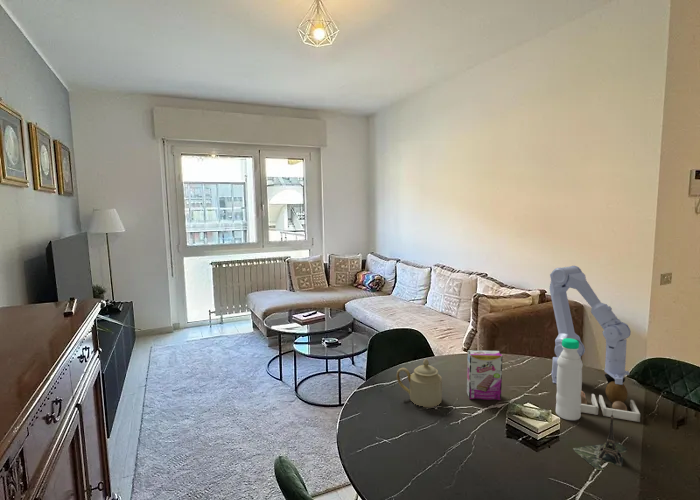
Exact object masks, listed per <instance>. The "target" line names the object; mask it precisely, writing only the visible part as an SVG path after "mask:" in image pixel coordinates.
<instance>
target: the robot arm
mask: <svg viewBox="0 0 700 500" xmlns="http://www.w3.org/2000/svg"><path fill="white" fill-rule="evenodd" d="M549 278H550V283H549V294H550V298H551V303H552V307H553V312H554V318H555V322H556V323H555V324H556V327H557V333H558V335H557V336H556V338H555V340H554V342H555V346H554V354H555V356H553V357H552V367H551V378H552V383H553V384H557V368H558V364H557V360H558V357H559V356H560V354H561V352H562V351H563V347H562V340H563V339H565V338H571V339H575V340H577V341H578V342H579V348H578V350H577V352H578V354H579V356H580V359H581V360H582V356H583V355H584V354H585V352H586V349H585V344H583V342H582V340H581V337H580V335H578V334H577V333H576V332H575V328H574V324H573V323H574V322H573V318H572V314H571V308H570V303H569V297H568V293H567V291H568V290H569V289H570V288H571V289H574V290H576V291H577V292H578V293H579V294H580V295H581V297H583V299H584V301H586V303H587V304H588V305H589V306H590V307H591V309H590V313H591V314H592V316H593V317H594V319H595V320H596V321H597V323H598V324H599V325H600V327H601V328H602V329H603V331H602V335H603V337H604V339H605V366H604V373H605V374H604V376H605V379H606V381H607V385H608V384H609V383H610V382H612V381H615V384H620V385H623V384H624V382H625V381H626V378H625V377H626V375H627V376H629V375H630V372H629V370H626V364H627V363H626V359H627V342H628V341H627V339H628V338H630V336H631V329H630V326H629V325H628V324H627V323H625V322H623V321H621V319H620V318H618V317H617V316H616V314H615V313H614V312H613V309H612V307H611V305H609V304H607V303H604V302H601V300H600V299H599V297H598V296H597V294H596V292H595V291H594V289H593V288H592V287H591V285H590V283H589V282H588V281H587V278H586V274H585V273H584V272H583V271H582V269H581V268H580V267H579V266H577V265H571V266H565V267H556V268H554V269H553V270H552V272H550V274H549Z"/></svg>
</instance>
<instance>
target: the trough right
mask: <svg viewBox="0 0 700 500" xmlns="http://www.w3.org/2000/svg"><path fill="white" fill-rule="evenodd" d="M598 403H599V404H598V405H599V406H600V409H601V413H602V415H603V417H609V418H611V415H613V419H621V420H627V421H631V422H632V421H633V422H638V423H641V413H640V411H639V409H638V407H637V405H636V402H635V400H634V399H630V400H629V407H630V408H629V409H630V411H629V410H627V411H624V410H618V409H612V407H611V408H609V407H607V406H606V402H605V401H604V397H603V395H602V394H599V395H598Z"/></svg>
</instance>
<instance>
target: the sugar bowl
mask: <svg viewBox="0 0 700 500" xmlns="http://www.w3.org/2000/svg"><path fill="white" fill-rule="evenodd" d="M422 362H423V363H422V364H420V365H418V366H417V367H415V368H414V369H413V372H412V373H411V372H410V370H408V368H406V367H400V368H398V370H397V371H396V380H397V381H396V382H397V383H398V384H399V386H400V387H401V388H402V390H403V391H405V392H406V393H407V394H408V395H409V398H410V402H411V401H412V402H413V403H414V404H413V403H412V402H411V403H412V404H413V405H415V404H416V405H415V406H417V405H419V406H418V407H420V406H423V407H422V408H435V407H438V406H440V405H439V404H440V403H441V404H442V400H443V399H442V398H443V377H442V376H441V375H440V374H439V370H438V369H437V368H436V367H434V366H432V365H429V364H430V363H429V360H428V359H427V358H425V359H424V360H423V361H422ZM401 372H404V373H405V374H406V376H407V379H408V382H409V388H408V387H407V386H405V385H404V383H402V381H401V378H400V373H401ZM437 405H438V406H437ZM434 406H435V407H434Z"/></svg>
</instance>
